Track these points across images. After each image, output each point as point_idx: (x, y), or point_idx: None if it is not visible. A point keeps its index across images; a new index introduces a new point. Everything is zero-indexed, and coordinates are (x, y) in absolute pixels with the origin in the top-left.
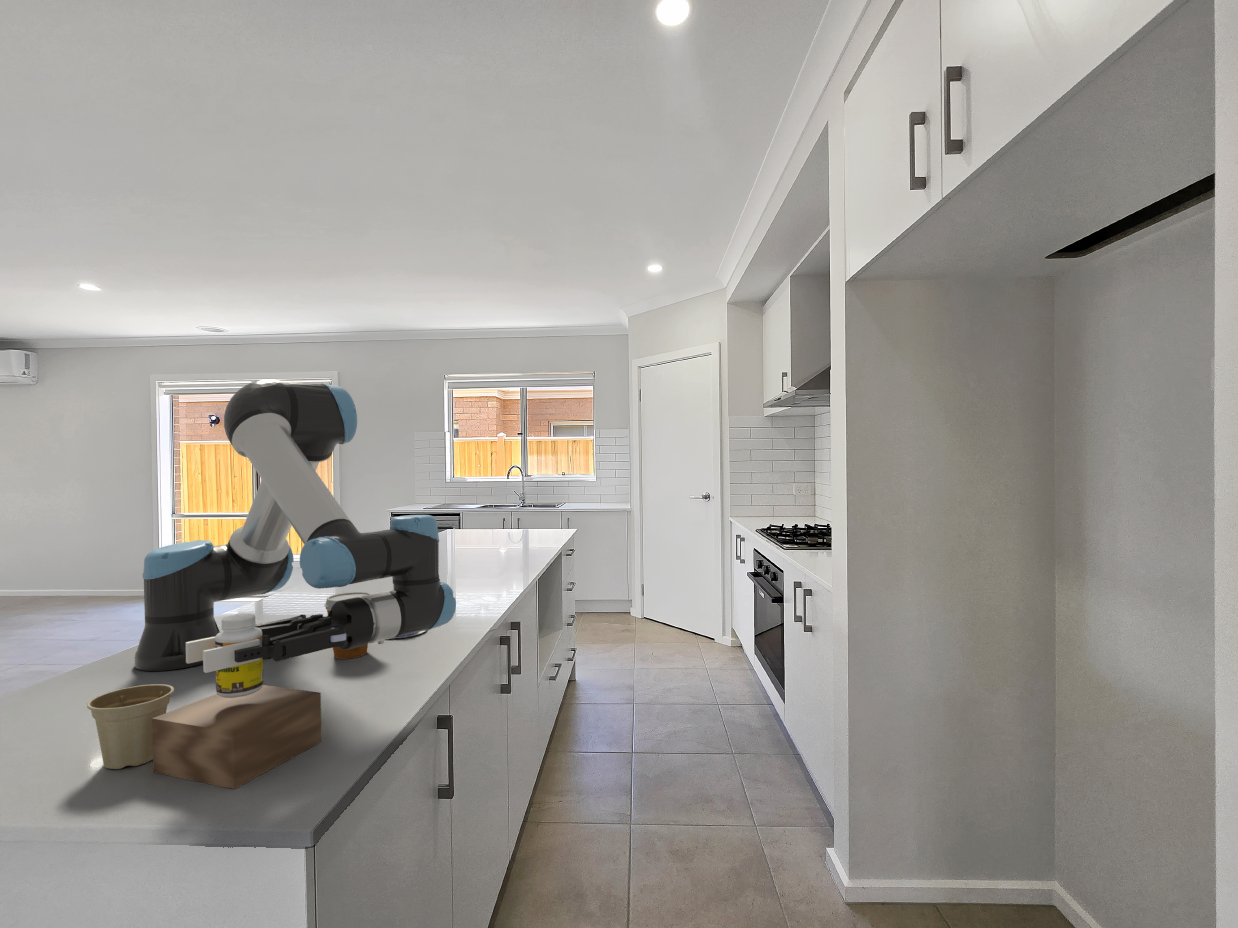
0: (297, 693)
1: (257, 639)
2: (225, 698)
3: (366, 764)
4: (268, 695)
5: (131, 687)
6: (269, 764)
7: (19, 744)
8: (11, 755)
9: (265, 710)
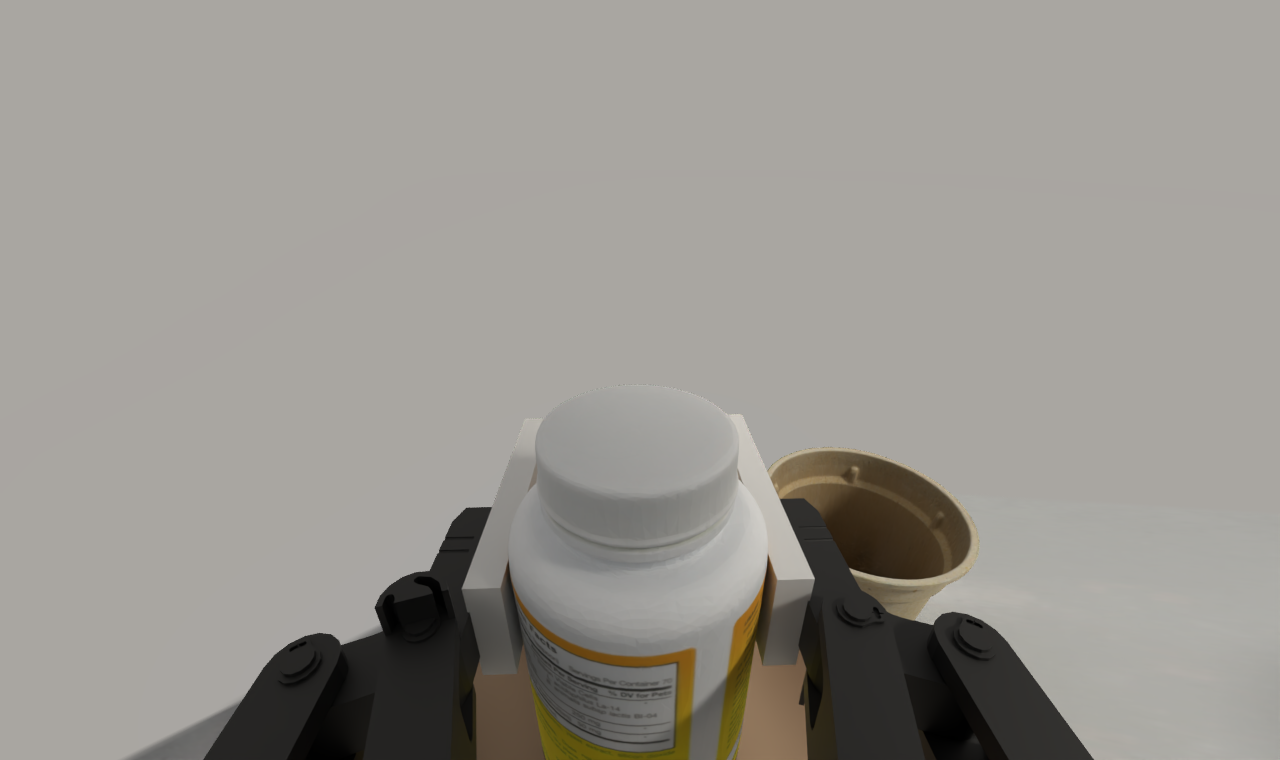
0: None
1: (488, 585)
2: (776, 743)
3: None
4: None
5: (965, 517)
6: None
7: (1036, 507)
8: (972, 496)
9: None
